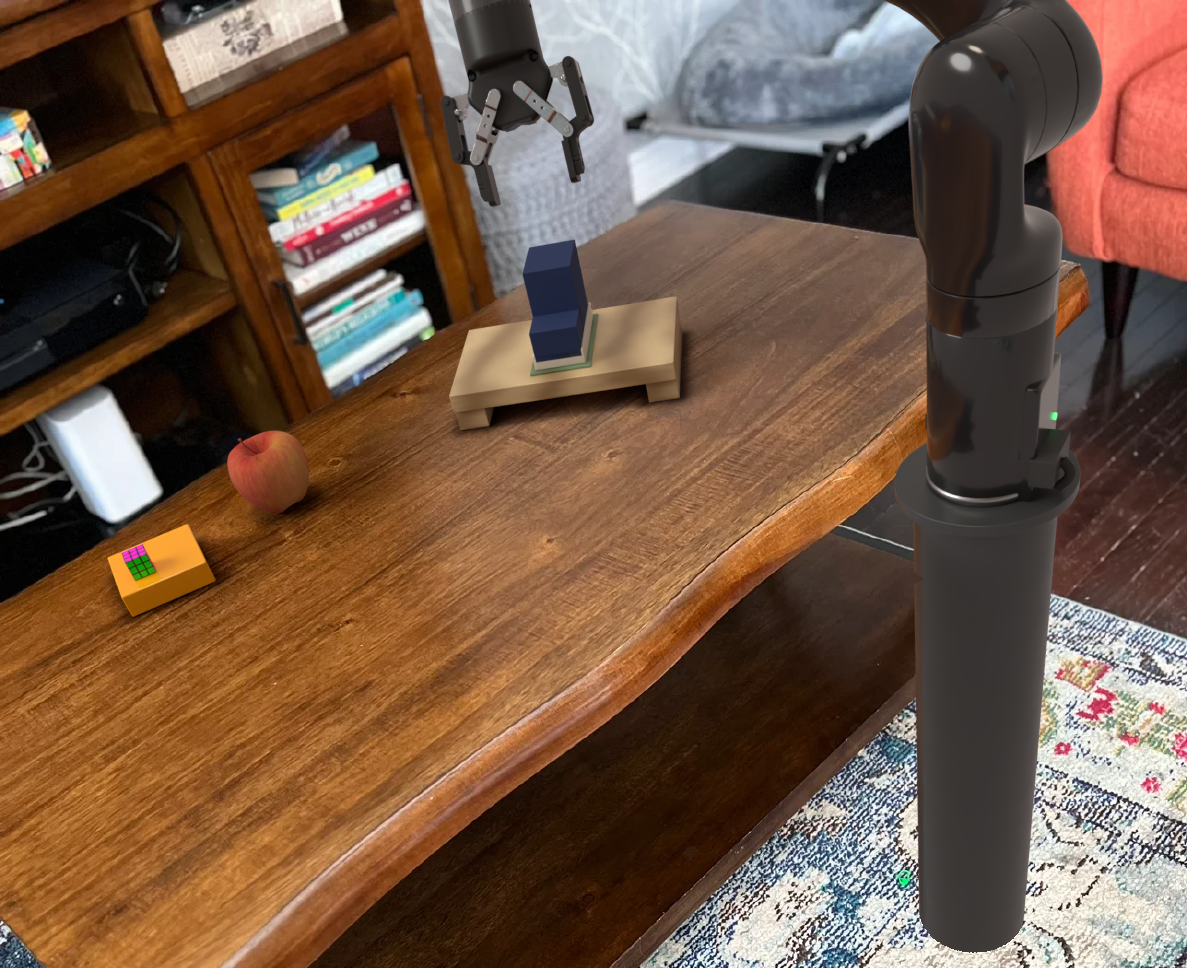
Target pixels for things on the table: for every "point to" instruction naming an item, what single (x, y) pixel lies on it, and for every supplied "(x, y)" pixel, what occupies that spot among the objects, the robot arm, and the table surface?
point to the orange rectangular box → (160, 570)
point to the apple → (270, 470)
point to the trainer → (557, 305)
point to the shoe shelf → (614, 360)
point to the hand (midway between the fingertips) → (535, 194)
